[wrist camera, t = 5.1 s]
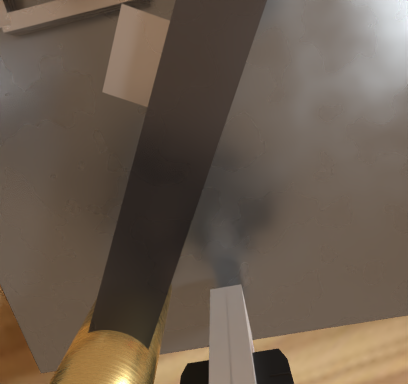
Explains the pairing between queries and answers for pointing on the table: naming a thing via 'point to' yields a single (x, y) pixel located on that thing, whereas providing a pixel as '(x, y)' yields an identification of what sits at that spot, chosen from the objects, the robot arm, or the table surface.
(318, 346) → the table surface
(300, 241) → the bench plate
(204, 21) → the lever
